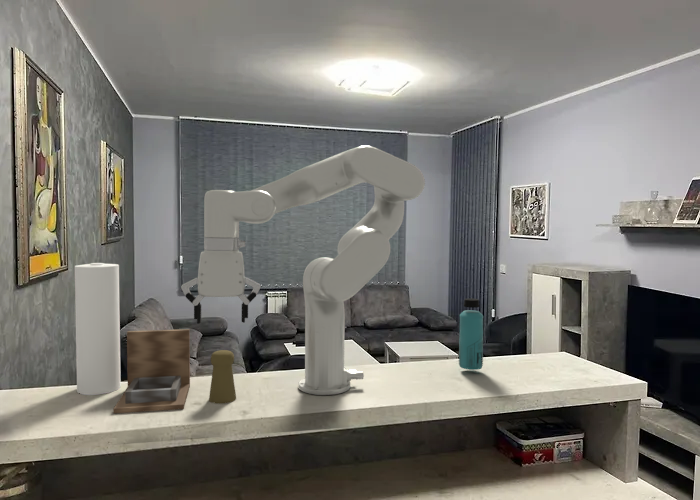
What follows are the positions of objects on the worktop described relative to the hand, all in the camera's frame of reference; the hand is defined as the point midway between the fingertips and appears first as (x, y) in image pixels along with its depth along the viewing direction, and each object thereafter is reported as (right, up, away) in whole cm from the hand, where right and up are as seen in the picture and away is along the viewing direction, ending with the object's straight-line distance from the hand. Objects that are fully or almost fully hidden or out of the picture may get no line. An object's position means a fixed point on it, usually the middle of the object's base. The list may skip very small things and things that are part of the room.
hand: (221, 321), depth 119 cm
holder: (-15, -17, +1) cm, 23 cm away
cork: (0, -18, +1) cm, 18 cm away
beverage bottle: (+61, -17, +25) cm, 68 cm away
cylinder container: (-31, -17, +8) cm, 36 cm away
